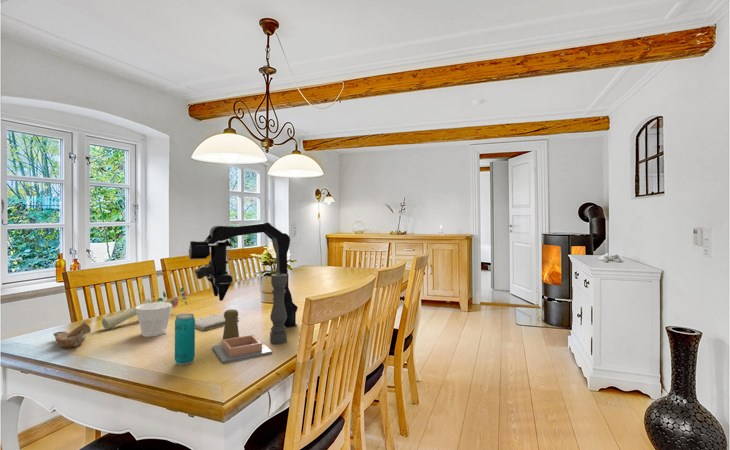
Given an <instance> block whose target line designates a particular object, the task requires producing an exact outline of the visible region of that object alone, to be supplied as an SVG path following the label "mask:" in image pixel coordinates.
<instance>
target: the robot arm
mask: <svg viewBox="0 0 730 450" xmlns="http://www.w3.org/2000/svg"><path fill="white" fill-rule="evenodd" d="M261 233H263V234H265V236H267V237H268V238H269V239H270V240H271V243H272V247H273V250H274V253H275V259H276V262H275V263H276V264H275V265H276V274H287V283H286V286H285V288H284V289H285V290H286V293H285V294H284V304H285V309H286V313H287V319H286V321H285V324H284V325H285V327H286V328H290V327H295V326H298V323H297V322H296V321H297V318H296V317H297V315H296V314H297V312H298V306H297V304H295V303H294V302H293V298H292V293H291V290H290V287H289V277H288V276H289V274H288V251H289V249H290V245H291V237H290V236H289V234H288V233H285V232H282V231H281V230H279V229H278V228H276V227H275V226H273V225H272V224H271V223H270V222H265V221H264V222H262V223H252V224H246V225H244V224H243V225H236V226H229V225H214V226H212V227H211V228H210V231H209V235H208V236H207V237H206V238H205V240H204V241H193V240H191V241H190V243H189V249H188V258H189V260H206V259H207V258H208V257H209V256H210V260H209V261H208V264H207V265H204V266H202V267H201V266H200V267H199V268H196V269H194V270H193V272H194V275H195V277H196V279H198V280H201V279H203V278H204V277H205V278H206V279H207V281H208V282H209V283H210V284H211V287H212V293H213V295H214V297H218V300H219V301H221V302H222V301H224V299H225V296H226V294H227V293H228V290H229V288H230V286H231V285H232V283H233V281H234V280H233V276H232V275H231V274H229V273H228V272H229V271H228V270H227V264H229V261H228V260H227V256H228V255H227V254H228V252H227V250H228V249H227V247H232V246H233V244H232V243H231V242H230V241H229V240H230V239H232V238H235V237H238V236H239V237H240V236H245V235H252V234H261ZM272 296H273V297H272V301H273V302H274V295H273V294H272Z"/></svg>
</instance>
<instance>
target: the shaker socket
mask: <svg viewBox="0 0 730 450" xmlns="http://www.w3.org/2000/svg"><path fill="white" fill-rule="evenodd" d="M221 341H222V343H221V344H217V345H215V344H214V345H212V350H213V352H214V353H215V354H216V355H217V357H218V358H219V360H220V361H221V363H222V364H227V363H232V362H238V361H243V360H249V359H253V358H257V357H263V356H269V355H272V354H273V351H272V350H271V349H270V348H269V347H268V346H267V345H266V344H265V343H264V342H263V341H261V340H260V339H259V338H257V337H256V336H255V335H253V334H249V335H242V336H239V337H236V338H230V339H224V340H223V339H222V340H221Z"/></svg>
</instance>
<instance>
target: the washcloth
mask: <svg viewBox="0 0 730 450" xmlns="http://www.w3.org/2000/svg"><path fill="white" fill-rule="evenodd" d="M239 319H240V317H239V316H238V317H237V323H239V322H240V320H239ZM224 326H225V318H224V312H223V313H220V314H219V313H218V314H211V315H208V316H202V317H198V318H195V329H197V330H201V331H202V332H203V331H205V332H206V331H209V330H213V329H216V328H221V327H224Z"/></svg>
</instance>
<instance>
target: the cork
mask: <svg viewBox="0 0 730 450" xmlns="http://www.w3.org/2000/svg"><path fill="white" fill-rule="evenodd" d="M223 313H224V318H225V325H224V326H223V335H222V340H224V339H230V338H236V337H240V332H239V326H238V322H237V317H238V318H239V311H238V310H237V309H227V310H225V311H224V312H223Z"/></svg>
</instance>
